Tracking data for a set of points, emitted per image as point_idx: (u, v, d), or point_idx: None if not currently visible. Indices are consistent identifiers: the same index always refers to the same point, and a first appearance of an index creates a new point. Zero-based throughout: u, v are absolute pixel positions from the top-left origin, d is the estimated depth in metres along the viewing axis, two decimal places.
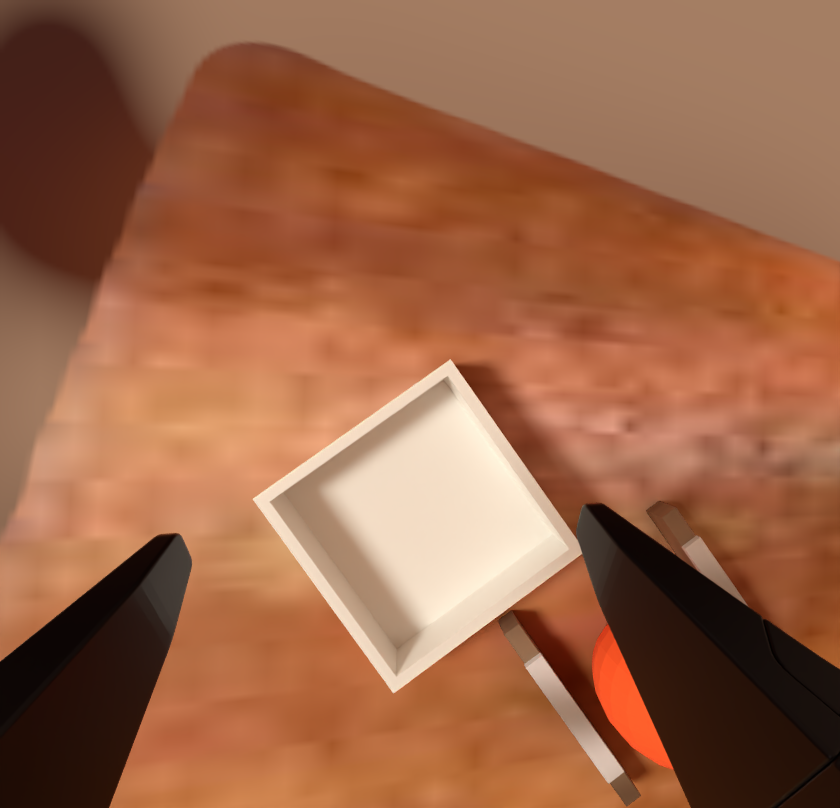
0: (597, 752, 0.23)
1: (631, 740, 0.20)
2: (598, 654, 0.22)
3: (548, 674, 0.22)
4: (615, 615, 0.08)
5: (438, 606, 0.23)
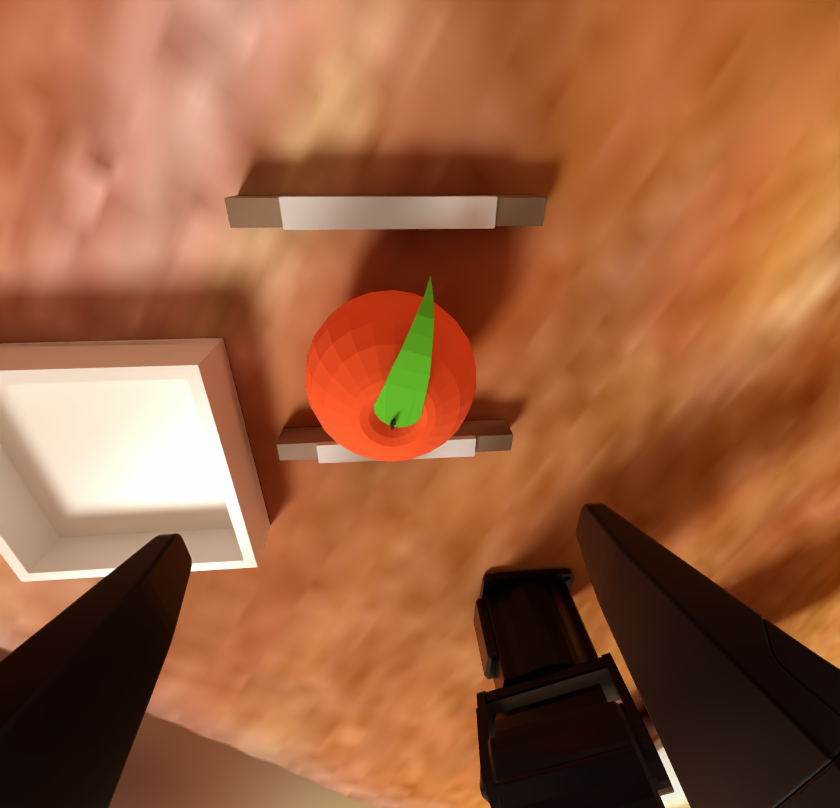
0: (440, 449, 0.21)
1: None
2: None
3: (338, 449, 0.20)
4: (615, 615, 0.08)
5: None
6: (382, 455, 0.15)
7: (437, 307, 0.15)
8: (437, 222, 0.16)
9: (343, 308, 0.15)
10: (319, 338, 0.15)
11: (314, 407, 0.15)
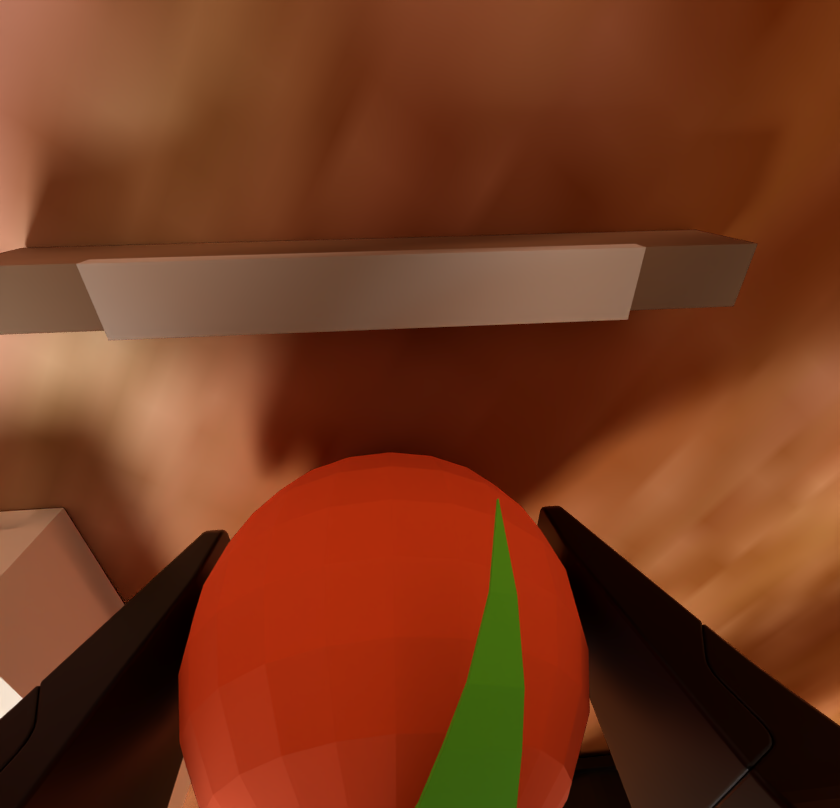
0: None
1: None
2: None
3: None
4: None
5: None
6: None
7: None
8: (492, 311, 0.06)
9: (264, 541, 0.06)
10: (200, 628, 0.06)
11: None
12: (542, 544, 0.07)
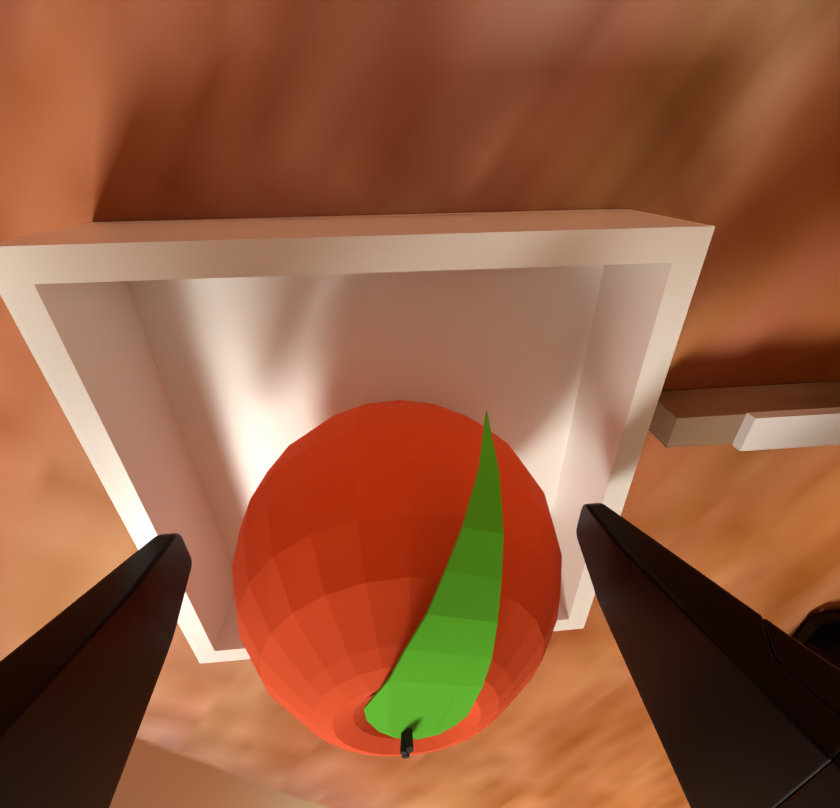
0: None
1: None
2: None
3: (787, 424, 0.11)
4: (615, 615, 0.08)
5: None
6: None
7: None
8: None
9: (302, 457, 0.07)
10: (253, 523, 0.07)
11: None
12: (524, 468, 0.08)
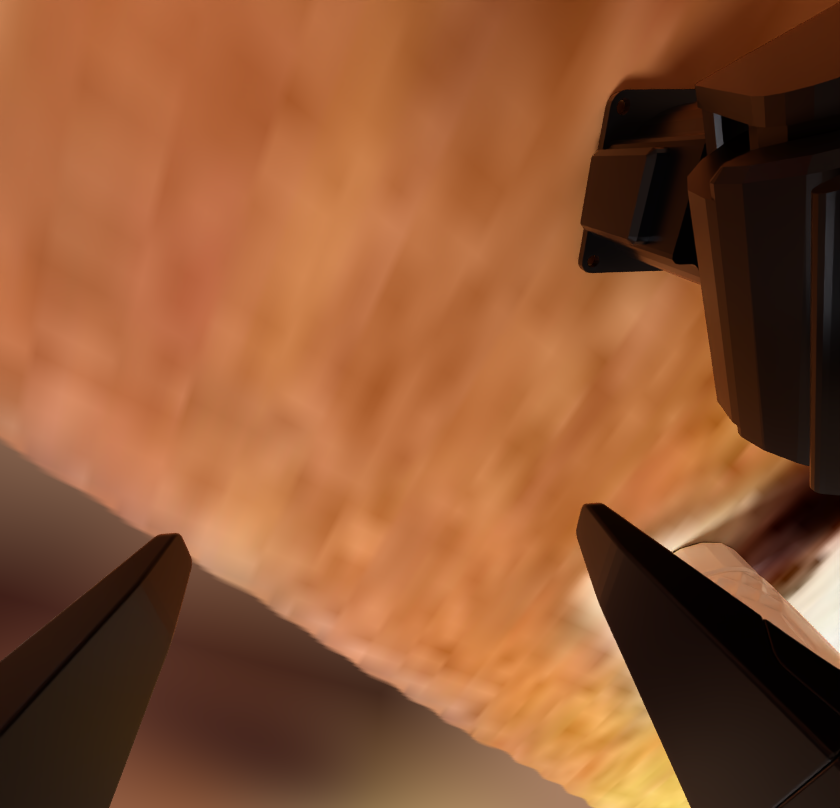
0: None
1: None
2: None
3: None
4: (615, 615, 0.08)
5: None
6: None
7: None
8: None
9: None
10: None
11: None
12: None
